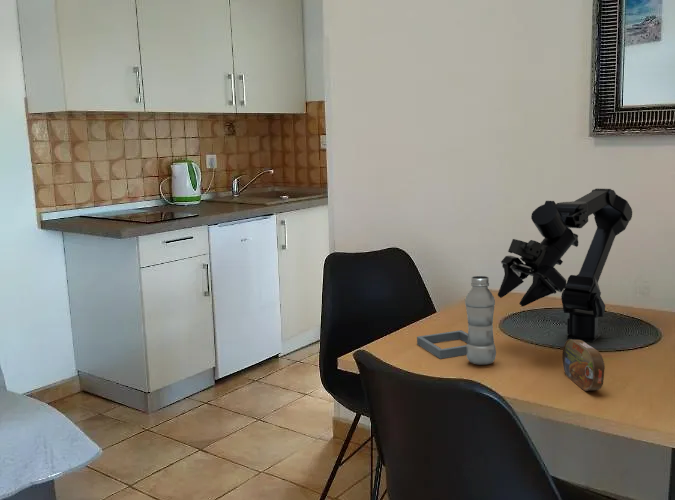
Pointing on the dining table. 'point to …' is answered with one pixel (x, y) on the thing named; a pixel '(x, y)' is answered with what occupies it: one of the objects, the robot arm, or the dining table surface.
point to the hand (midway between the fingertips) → (509, 300)
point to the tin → (583, 364)
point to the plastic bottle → (480, 322)
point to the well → (428, 341)
